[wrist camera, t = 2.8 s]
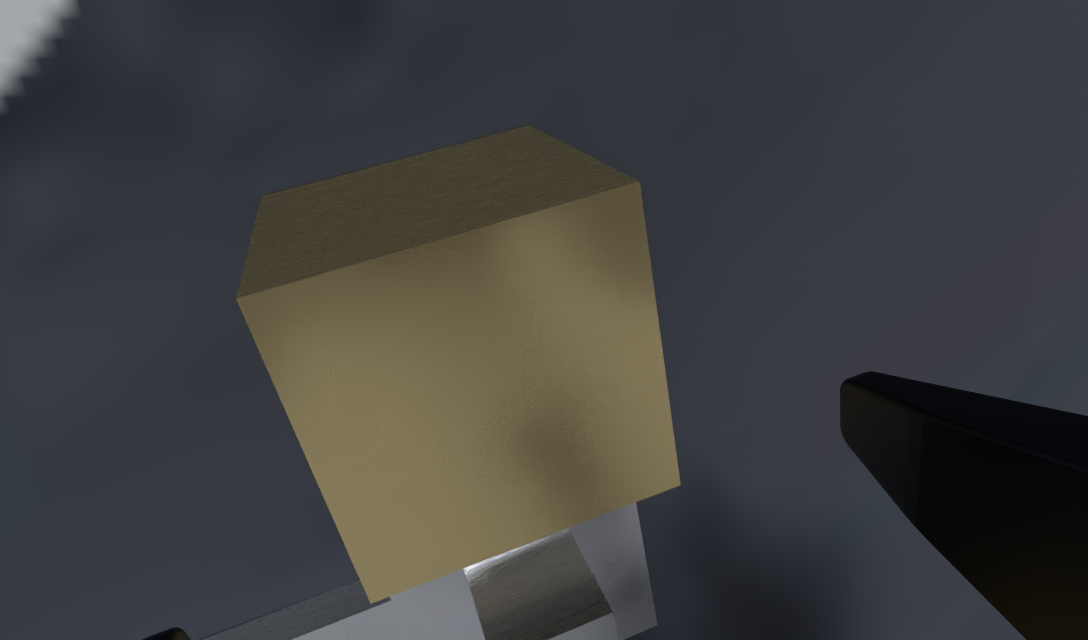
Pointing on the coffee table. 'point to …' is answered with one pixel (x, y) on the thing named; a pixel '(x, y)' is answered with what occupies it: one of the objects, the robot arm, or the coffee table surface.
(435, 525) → the brushed brass cube
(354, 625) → the hammer
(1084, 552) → the robot arm
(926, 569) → the coffee table surface
